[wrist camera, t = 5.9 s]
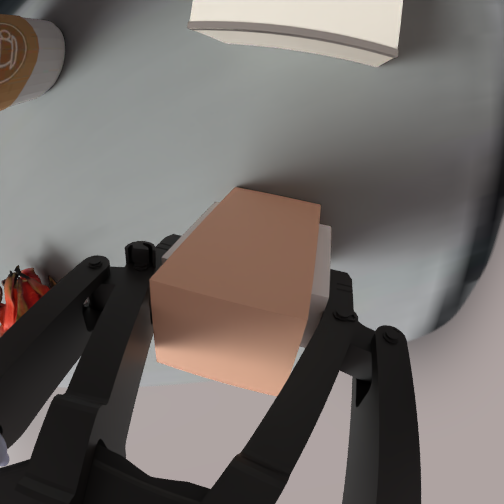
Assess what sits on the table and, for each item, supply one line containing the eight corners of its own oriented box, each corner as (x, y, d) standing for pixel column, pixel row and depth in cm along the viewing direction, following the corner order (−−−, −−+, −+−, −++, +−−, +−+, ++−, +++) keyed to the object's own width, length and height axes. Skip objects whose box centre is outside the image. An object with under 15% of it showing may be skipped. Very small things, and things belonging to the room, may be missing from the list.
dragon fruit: (66, 332, 33) (60, 241, 29) (88, 382, 28) (79, 284, 23) (3, 343, 27) (-15, 249, 23) (15, 398, 22) (-16, 297, 17)
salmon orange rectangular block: (235, 187, 18) (149, 279, 10) (321, 204, 18) (307, 320, 9) (228, 247, 20) (156, 361, 12) (306, 265, 20) (281, 397, 11)
